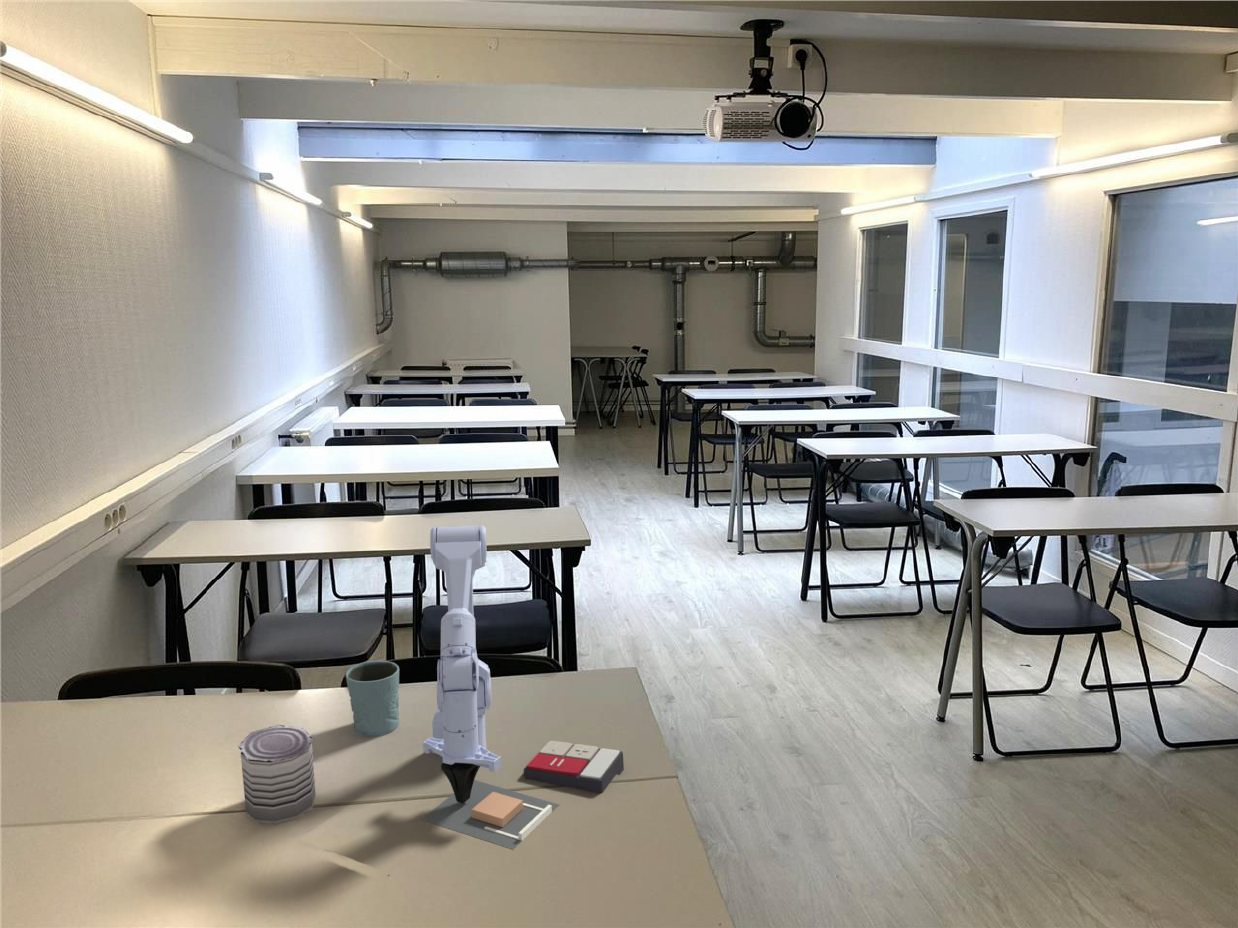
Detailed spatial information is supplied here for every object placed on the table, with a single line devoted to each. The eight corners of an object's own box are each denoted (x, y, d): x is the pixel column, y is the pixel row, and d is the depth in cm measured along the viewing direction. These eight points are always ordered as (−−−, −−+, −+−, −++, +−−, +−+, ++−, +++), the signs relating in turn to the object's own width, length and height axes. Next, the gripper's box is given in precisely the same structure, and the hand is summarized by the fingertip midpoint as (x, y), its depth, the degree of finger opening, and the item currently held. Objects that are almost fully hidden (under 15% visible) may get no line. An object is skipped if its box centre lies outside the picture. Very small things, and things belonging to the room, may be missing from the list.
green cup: (412, 723, 187) (409, 667, 185) (374, 743, 179) (371, 685, 176) (377, 710, 193) (373, 656, 190) (338, 730, 184) (334, 673, 182)
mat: (420, 824, 152) (420, 812, 152) (472, 784, 164) (471, 772, 164) (513, 855, 144) (512, 842, 144) (559, 809, 156) (559, 797, 156)
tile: (471, 809, 152) (502, 818, 149) (492, 791, 157) (522, 800, 154) (472, 818, 152) (502, 827, 149) (493, 800, 157) (523, 809, 155)
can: (298, 779, 166) (293, 717, 164) (328, 804, 158) (324, 739, 156) (234, 805, 158) (228, 739, 156) (263, 832, 150) (257, 764, 148)
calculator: (548, 737, 174) (623, 747, 169) (550, 758, 175) (624, 769, 170) (522, 765, 164) (601, 776, 159) (523, 788, 165) (602, 800, 160)
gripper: (409, 725, 153) (413, 800, 156) (482, 744, 147) (484, 822, 150) (436, 708, 160) (440, 780, 162) (507, 726, 153) (509, 801, 156)
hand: (463, 799), depth 156 cm, fingers closed
